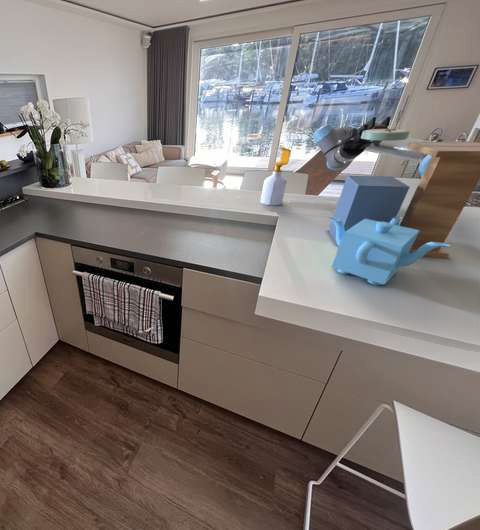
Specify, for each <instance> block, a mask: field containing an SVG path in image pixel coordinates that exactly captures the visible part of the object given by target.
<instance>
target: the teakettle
mask: <svg viewBox="0 0 480 530" xmlns="http://www.w3.org/2000/svg"><path fill="white" fill-rule="evenodd" d="M328 219H329V220H330V221H331V222H332V221H333V222H334V224H335V226H336V241H337V244H338V247H337V250H336V253H335V257H334V259H333V262H332V263H331V264H332V265H331V268H333V269H336V270H337V272H338V273H340V274H343V275H354V276H356V277H360V278H363V279H365V280H367V282H368V283H369V284H371V285H374V286H382V285H385V284H387V282H389V280H390V279H391V278H392V277H393V276H395V274H396V273H397V272H398V271H399V270H400V269H401V267H402V268H403V267H408V266H411V265H414V264H415V263H417V262H418V261H419V260H421V259H422V258H423V257H425V256H424V255H425V254H426V253H427V252H429V251H430V250H432V249H434V248H438V247H442V248H444V247H451V244H449V243H445V242H444V243H440V242H429V243H426V244H424V245H422V246H421V247H420V248H419V249H417V250H416V251H415V252H412V253H409V251H410V249H411V247H412V245H413V243H414V241H415V239H416V237H417V235H418V233H419V230H416V229H411V228H407V227H402V226H399V225H400V223H401V221H402V217H401V216H396V217H394V218H393V219H392V220H391V221H390V223H387V222H379V221H374V220H369V219H364V220H362V221H360V222H359V223H357V224H356V225H354V226H353V227H351V228H350V229H348V230H347V231H346V232H345V228H344V224H343V222H342V221H341V220H339V219H336V218H333V217H328Z"/></svg>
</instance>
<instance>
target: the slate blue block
mask: <svg viewBox="0 0 480 530" xmlns="http://www.w3.org/2000/svg"><path fill="white" fill-rule="evenodd" d="M410 187H411V186H409V185H407V184H405V183H404V182H402V181H400V180H399V179H397V178H396V177H394V176H385V175H384V176H380V175H379V176H377V175H375V176H374V175H346V177H345V181H344V184H343V187H342V190H341V192H340V196H339V199H338V202H337V204H336V208H335V211H334V214H333V216H332V218H336V219H339V220H341V221H342V222H343V224H344V228H345V232H346V231H347V230H348V229H350V228H351V227H353V226H354V225H356V224H357V223H359V222H360V221H362V220H364V219H369V220H374V221H379V222H387V223H390V221H391V220H392V219H393V218H394V217H398V214H399V212H400V209H401V207H402V205H403V203H404V201H405V199H406V196H407V194H408V192H409V189H410ZM328 233H329V235H330V237H331V238H332V240H333V242H334V244H335V245H336V246H338V244H337V241H336V226H335V224H334V222H333V221H331V223H330V226H329V229H328ZM338 247H339V246H338Z"/></svg>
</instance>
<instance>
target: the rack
mask: <svg viewBox="0 0 480 530" xmlns="http://www.w3.org/2000/svg"><path fill="white" fill-rule="evenodd" d="M408 148H411V149H413V150H416V151H419V152H422V153H425V154H427V155H430V156H432V157H431V159H430V161H429V163H428V165H427V168H426V170H425V172H424V174H423V176H422V177H420V180H419V183H418V185H417V186H416V190H415V191H414V193H413V196H412V197H411V200H410V201H409V204H408V206H407V208H406V210H405V212H404V215H403V216H402V218H401V220H400V222H399V224H398V226H402V227H407V228H411V229H416V230H419V233H418V235H417V237H416V239H415V241H414V243H413V245H412V247H411V249H410V251H409V253H412V252H415V251H416V250H417V249H419V248H420V247H421V246H422V245H424V244H426V243H429V242H440V243H445V242H446V240H447V238H448V236H449V234H450V232H451V231H452V229H453V227H454V226H455V224H456V222H457V220H458V219H459V217H460V215H461V213H462V212H463V210H464V208H465V207H466V204H467V203H468V201H469V199H470V198H471V195H472V194H473V192H474V191H475V189H476V187H477V186H478V185H477V183H478V182H479V180H480V142H476V141H472V140H468V141H467V140H466V141H463V140H461V141H460V142H409V144H408ZM449 256H450V253H449V252H448V251H447V250H445V249H444V247H438V248H434V249H432V250H430V251H429V252H427V253H426V254H425V255H424V256H423V257H429V258H438V259H439V258H440V259H448V257H449Z"/></svg>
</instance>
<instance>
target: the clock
mask: <svg viewBox="0 0 480 530" xmlns="http://www.w3.org/2000/svg"><path fill="white" fill-rule="evenodd" d="M367 123H368V122H363V124H362V126H363V125H364V124H367ZM410 133H411V130H408V129H403V128H402V129H401V128H389V129H386V125H382V124H380V123H378V122H375V126H374V127H373V128H372V129H370V130H364V131H363V132H362V135H361V138H362V139H366V140H379V141H394V140H405V139H407V138H408V137H409V134H410Z"/></svg>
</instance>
